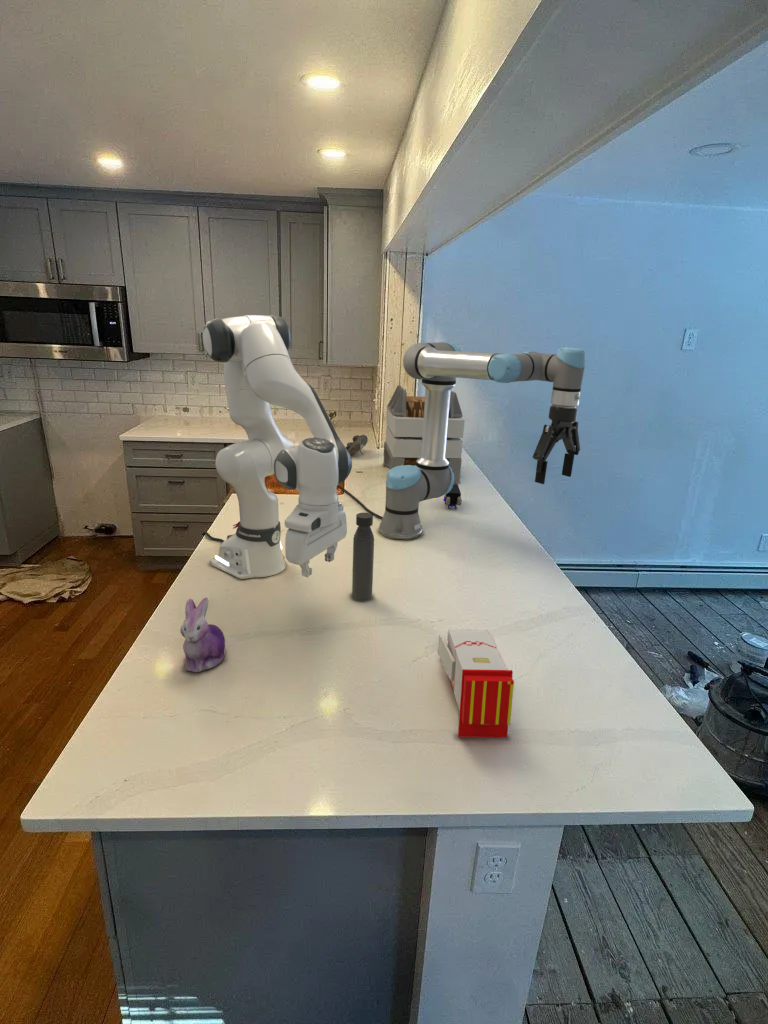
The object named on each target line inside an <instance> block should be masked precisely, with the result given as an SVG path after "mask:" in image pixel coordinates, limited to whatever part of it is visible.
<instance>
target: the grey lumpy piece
mask: <svg viewBox="0 0 768 1024" xmlns="http://www.w3.org/2000/svg"><path fill="white" fill-rule="evenodd" d="M368 439H369V438H368V436H367V435H365V434H361V435H359V434H356V435H353V437H352V441H350V442H347V443H346V445H345V447H346V449H347V450H348V452H349V454H350V456H351V457H354V456H355V455H357V454H358V453H359V452H360V454H361V455H364V454H363V452H362V450H363V448H364V447H366V445H367V443H368V441H369V440H368Z"/></svg>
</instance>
